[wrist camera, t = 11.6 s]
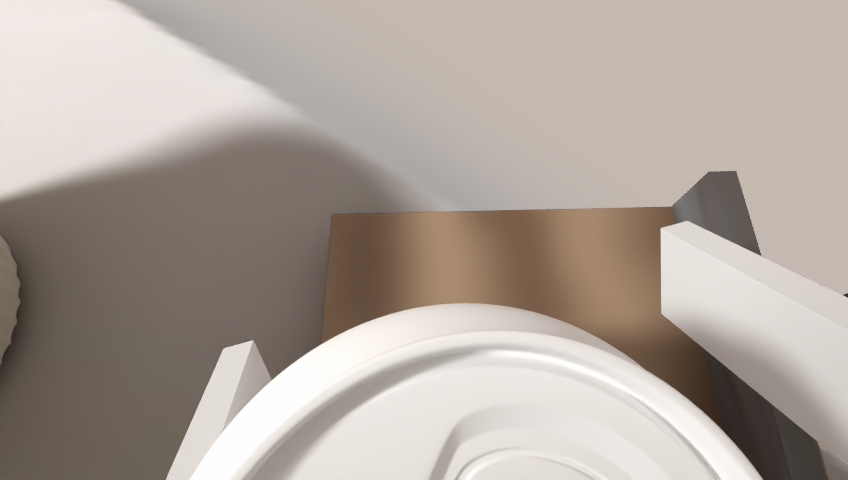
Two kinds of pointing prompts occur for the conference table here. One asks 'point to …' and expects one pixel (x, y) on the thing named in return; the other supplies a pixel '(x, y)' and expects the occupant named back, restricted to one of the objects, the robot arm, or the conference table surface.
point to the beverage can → (470, 408)
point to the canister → (7, 296)
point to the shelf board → (568, 292)
